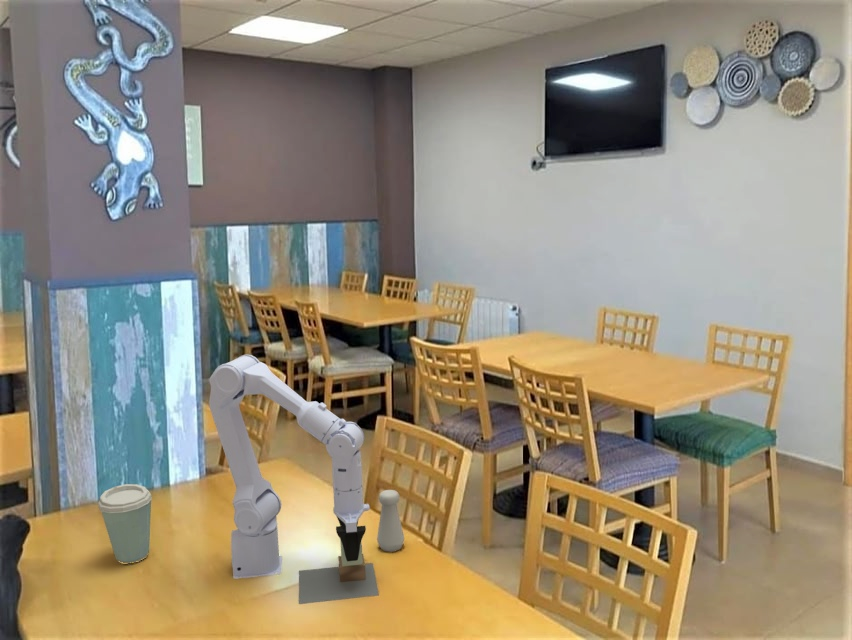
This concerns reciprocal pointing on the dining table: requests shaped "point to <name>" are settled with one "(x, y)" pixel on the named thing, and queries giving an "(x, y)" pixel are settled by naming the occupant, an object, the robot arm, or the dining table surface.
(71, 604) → the dining table surface
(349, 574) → the walnut block
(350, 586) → the slate mat
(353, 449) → the robot arm
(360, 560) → the sage block
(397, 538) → the salt shaker
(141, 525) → the disposable coffee cup
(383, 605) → the dining table surface
